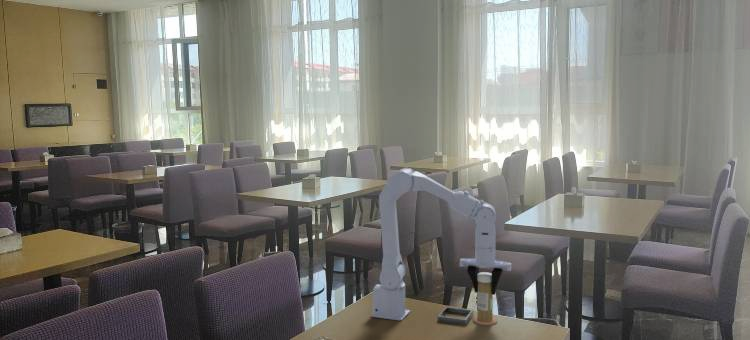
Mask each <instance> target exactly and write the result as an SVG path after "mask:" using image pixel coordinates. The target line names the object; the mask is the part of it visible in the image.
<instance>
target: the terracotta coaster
mask: <svg viewBox="0 0 750 340" xmlns="http://www.w3.org/2000/svg"><path fill="white" fill-rule="evenodd" d="M477 316H478V314H477V315H473V316H472V322H473V323H474V324H477V325H481V326H493V325H496V324H497V323H498V318H497V316H494V315H492V317H493V319H492V320H491V321H487V322H485V321H480V320H478V319H477Z"/></svg>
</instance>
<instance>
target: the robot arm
mask: <svg viewBox="0 0 750 340" xmlns="http://www.w3.org/2000/svg"><path fill="white" fill-rule="evenodd" d="M412 188H413V189H412ZM411 189H412V191H413V192H418V191H419V192H420V191H421V192H422V191H425V192H427V193H429V194H432V195H433V196H436V198H437V197H438V198H440V199H442V200H444V201H446V202H448V203H449V206H450V208H451V209H452V210H454V211H456V212H458V213H459V214H461V215H463V216H465V217H467V218H469V219H473V220H474V222H475V231H474V238H475V239H474V244H475V245H474V248H475V249H474V252H475V254H474V256H475V257H474V258H463V257H462V258H460V259H459V267H462V268H463V267H467V269H466V272H467V274H468V276H469V279H470V280H471V282H472V287H473V291H474V293H477V290H478V282H477V274H478V273H480V268H481V269H489V270H490V269H491V270H492V271H491V274H492V295H493V296H495V295H496V293H497V287H498V284H499V281H500V279H501V277H502V273H503V272H504V271H506V272H511V271H512V262H507V261H503V260H496V248H497V247H496V244H497V243H496V237H497V236H496V235H497V234H496V233H497V232H496V224H495V223H496V221H497V214H496V209H495V207H494V206H493V205H492V204H491V203H489V202H485V201H484V200H483V199H480V200H479V199H478V198H475V197H474V196H472V195H470V192H469V191H467V190H465V191H462V190H459V191H458V190H457V191H453V190H451V189H449V188H448V187H446V186H444V185H442V184H441V183H439V182H437V181H436V180H434V179H432V178H430V177H429V176H427V175H425V174H424V173H421V172H419V171H416V170H415V171H414V169H412V168H409V167H404V168H400V169H399V170H398V171H397V172H395V173H393V174H392V175H391V176H390V177H389V178H388V179H387V181H386V183H385V184H384V186H383V188H382V190H381V191H380V193H379V196H378V202H379V203H378V205H379V216H380V218H379V219H380V228H381V229H380V231H381V242H382V243H381V244H382V261H381V272H380V274H379V282H380V284H377V283H376V285H375V286H374V287H373V289H372V314H371V317H372V318H379V319H386V320H393V321H394V320H395V321H403V320H404V319H405V318H406V316H408V315H409V314H410V312H411V310H409V309H406V283H405V282H404V280H403V278H404V277H405V275H406V272H407V271H406V270H407V269H406V266H405V264H404V263H403V260H402V254H401V253H400V252H401V250H400V238H399V237H400V236H399V223H398V222H399V221H398V211H397V200H398V199H400V197H401V196H402V195H404V194H406V193H408V192H409V191H410V190H411Z"/></svg>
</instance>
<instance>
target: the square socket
mask: <svg viewBox="0 0 750 340" xmlns="http://www.w3.org/2000/svg"><path fill="white" fill-rule="evenodd" d="M447 313H450V314H457V315H464V316H465V315H466V317H465V318H458V317H450V316H446V314H447ZM473 317H474V310H473V309H468V308H459V307H451V306H445V307H444V308H443V309H442V310H441V312H440V313H438V315H437V322H441V323H446V324H447V323H448V324H454V325H461V326H462V325H463V326H467V324H469V322H470V320H471V318H473Z"/></svg>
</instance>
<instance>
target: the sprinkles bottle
mask: <svg viewBox="0 0 750 340" xmlns="http://www.w3.org/2000/svg"><path fill="white" fill-rule="evenodd" d="M477 282H478V290H477V294H476V295H477V297H476V298H477V299H476V300H477V302H476V303H477V305H476V306H477V308H476V309H477V315H478V316H477V319H478V320H480V321H485V322H487V321H491V320H492V319H493V317H492V316H493V308H494V305H493V301H494V297H493V296H494V295H492V272H486V271H482V272H481V271H480V272H479V273H478V274H477Z"/></svg>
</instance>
